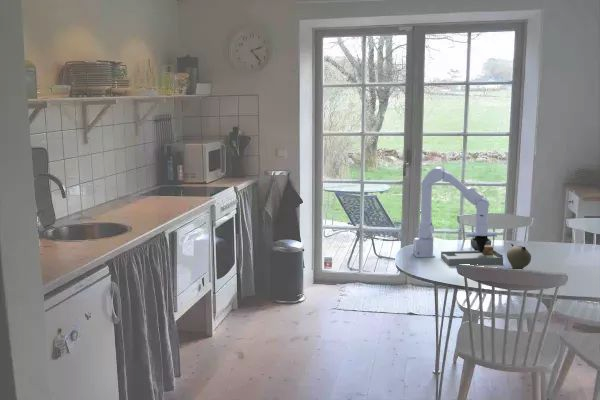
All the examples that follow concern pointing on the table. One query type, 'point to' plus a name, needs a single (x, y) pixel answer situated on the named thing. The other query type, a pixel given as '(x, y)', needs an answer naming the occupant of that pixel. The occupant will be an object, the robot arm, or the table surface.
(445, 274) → the table surface
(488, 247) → the block
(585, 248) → the table surface
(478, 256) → the trap lane
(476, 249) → the mortar and pestle
